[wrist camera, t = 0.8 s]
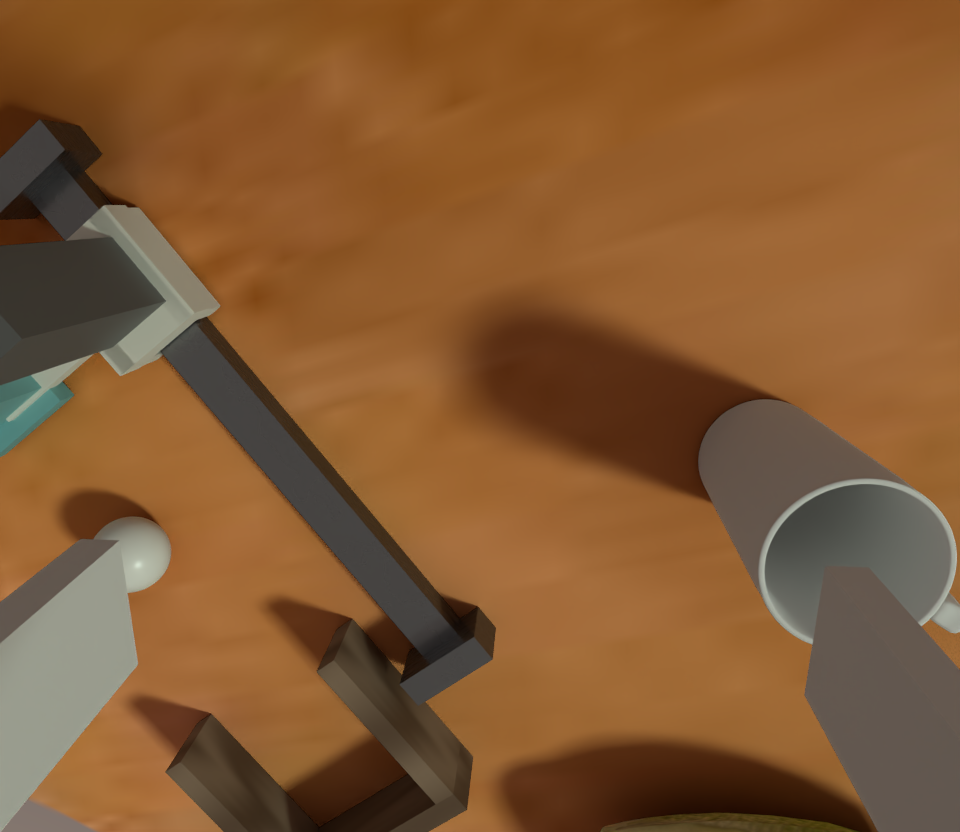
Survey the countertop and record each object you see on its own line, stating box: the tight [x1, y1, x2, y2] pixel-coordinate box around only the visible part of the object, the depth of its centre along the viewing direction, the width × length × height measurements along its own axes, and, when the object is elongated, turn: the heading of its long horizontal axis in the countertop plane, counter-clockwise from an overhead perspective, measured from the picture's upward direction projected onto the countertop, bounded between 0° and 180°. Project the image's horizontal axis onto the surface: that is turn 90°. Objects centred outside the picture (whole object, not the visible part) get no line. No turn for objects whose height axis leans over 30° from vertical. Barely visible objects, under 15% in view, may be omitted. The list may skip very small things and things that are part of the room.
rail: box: [0, 119, 496, 706], centre depth 38 cm, size 33×5×3 cm, turn 37°
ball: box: [94, 516, 171, 593], centre depth 40 cm, size 4×4×4 cm
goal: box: [166, 619, 473, 832], centre depth 43 cm, size 11×12×4 cm
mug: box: [698, 399, 960, 644], centre depth 32 cm, size 10×7×12 cm, turn 59°
